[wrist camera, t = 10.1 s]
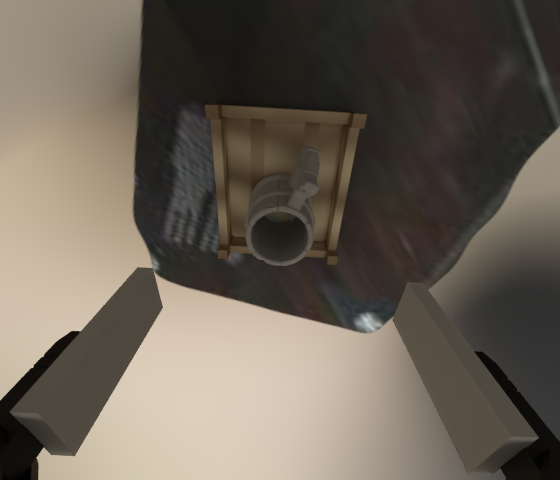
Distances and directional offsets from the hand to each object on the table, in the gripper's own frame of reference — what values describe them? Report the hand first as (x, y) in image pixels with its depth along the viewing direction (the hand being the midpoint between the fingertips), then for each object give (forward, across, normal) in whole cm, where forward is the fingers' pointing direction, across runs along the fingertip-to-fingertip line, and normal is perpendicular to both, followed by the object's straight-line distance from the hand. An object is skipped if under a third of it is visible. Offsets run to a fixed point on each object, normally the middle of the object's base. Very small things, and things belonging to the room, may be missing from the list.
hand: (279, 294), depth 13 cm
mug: (+20, +1, 0) cm, 20 cm away
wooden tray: (+21, 0, 0) cm, 21 cm away
